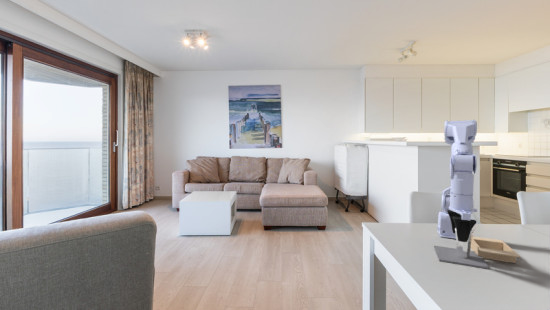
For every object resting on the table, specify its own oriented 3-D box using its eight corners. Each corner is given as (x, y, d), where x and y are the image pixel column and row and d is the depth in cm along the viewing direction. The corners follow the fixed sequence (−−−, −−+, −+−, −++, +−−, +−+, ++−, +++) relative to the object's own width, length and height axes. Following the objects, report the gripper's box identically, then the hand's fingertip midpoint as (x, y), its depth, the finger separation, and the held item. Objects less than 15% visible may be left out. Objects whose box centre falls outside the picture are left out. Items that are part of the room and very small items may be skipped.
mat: (439, 260, 79) (439, 259, 79) (433, 246, 90) (433, 245, 90) (489, 269, 74) (489, 267, 74) (477, 253, 85) (477, 251, 85)
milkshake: (471, 261, 77) (472, 228, 77) (451, 255, 82) (452, 223, 81) (478, 258, 80) (479, 225, 79) (458, 251, 84) (459, 221, 84)
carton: (480, 260, 80) (480, 250, 79) (468, 244, 92) (468, 235, 92) (519, 266, 76) (520, 256, 76) (501, 248, 89) (501, 240, 88)
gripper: (484, 199, 73) (482, 247, 73) (471, 191, 86) (469, 232, 87) (454, 197, 76) (452, 243, 76) (445, 189, 89) (444, 228, 89)
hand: (459, 237), depth 82 cm, fingers open, 7 cm apart
